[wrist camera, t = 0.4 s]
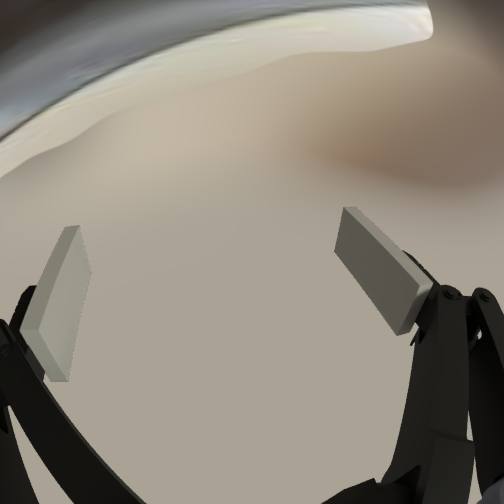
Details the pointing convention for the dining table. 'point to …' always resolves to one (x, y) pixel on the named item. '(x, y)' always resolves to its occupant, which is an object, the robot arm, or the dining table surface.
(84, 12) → the dining table surface
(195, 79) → the dining table surface
